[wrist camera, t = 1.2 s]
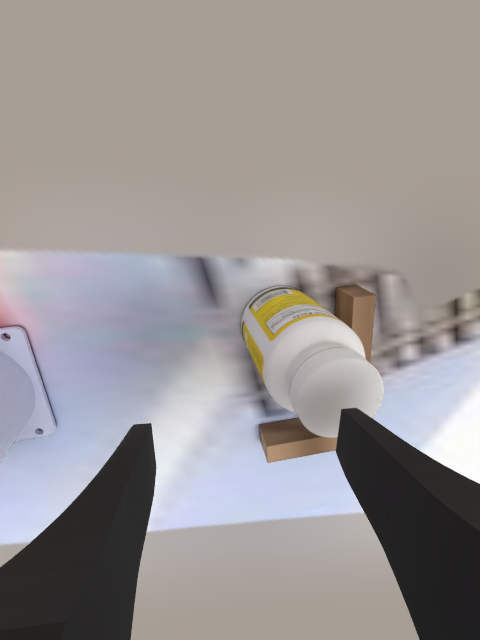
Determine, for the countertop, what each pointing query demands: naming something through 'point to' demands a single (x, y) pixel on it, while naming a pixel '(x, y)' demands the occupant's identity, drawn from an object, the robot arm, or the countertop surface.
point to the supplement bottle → (309, 359)
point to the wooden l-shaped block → (292, 434)
